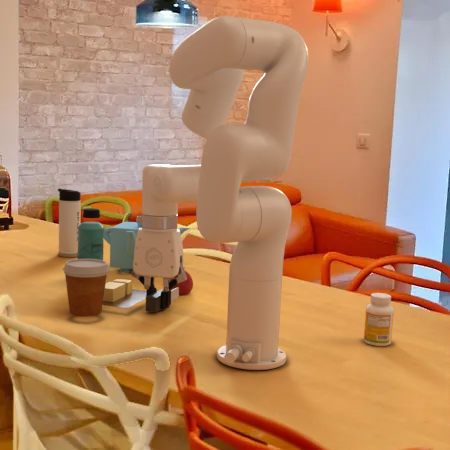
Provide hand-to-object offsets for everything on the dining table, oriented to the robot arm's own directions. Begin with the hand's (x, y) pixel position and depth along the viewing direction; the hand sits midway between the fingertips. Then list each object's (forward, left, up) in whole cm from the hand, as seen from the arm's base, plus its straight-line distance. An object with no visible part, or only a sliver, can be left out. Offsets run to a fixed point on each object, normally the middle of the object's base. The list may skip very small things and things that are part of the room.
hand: (158, 306), depth 160 cm
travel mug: (+48, +51, -2) cm, 70 cm away
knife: (+4, 0, 0) cm, 4 cm away
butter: (+4, +14, -1) cm, 14 cm away
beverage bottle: (+14, +25, -2) cm, 29 cm away
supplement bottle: (+3, -46, -2) cm, 47 cm away
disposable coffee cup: (-8, +13, -2) cm, 16 cm away
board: (+6, +13, -2) cm, 14 cm away
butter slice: (+10, +14, -1) cm, 17 cm away
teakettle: (+39, +22, -2) cm, 45 cm away
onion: (+16, +2, -2) cm, 17 cm away
